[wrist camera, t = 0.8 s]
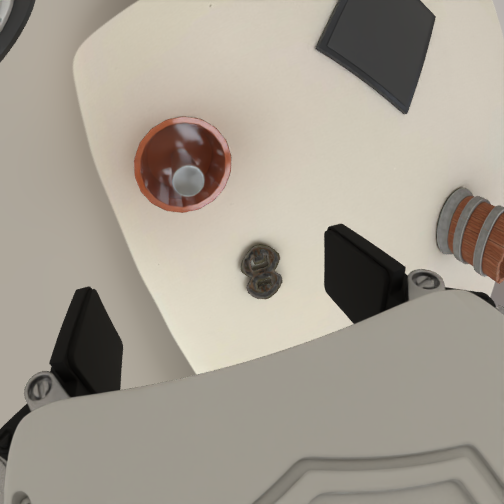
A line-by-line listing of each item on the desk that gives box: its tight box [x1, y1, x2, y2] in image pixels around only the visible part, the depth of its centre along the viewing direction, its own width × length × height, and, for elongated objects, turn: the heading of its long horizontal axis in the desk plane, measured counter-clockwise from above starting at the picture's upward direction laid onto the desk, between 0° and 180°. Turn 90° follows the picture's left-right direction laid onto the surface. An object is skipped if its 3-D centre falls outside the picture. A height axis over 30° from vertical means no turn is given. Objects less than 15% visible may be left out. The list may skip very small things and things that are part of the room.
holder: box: [134, 116, 231, 213], centre depth 24 cm, size 8×8×8 cm
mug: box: [437, 188, 504, 284], centre depth 39 cm, size 14×19×15 cm
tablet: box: [316, 0, 435, 114], centre depth 25 cm, size 16×22×1 cm
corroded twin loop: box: [241, 244, 282, 299], centre depth 36 cm, size 5×8×1 cm, turn 11°
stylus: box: [171, 148, 205, 197], centre depth 21 cm, size 2×2×14 cm
